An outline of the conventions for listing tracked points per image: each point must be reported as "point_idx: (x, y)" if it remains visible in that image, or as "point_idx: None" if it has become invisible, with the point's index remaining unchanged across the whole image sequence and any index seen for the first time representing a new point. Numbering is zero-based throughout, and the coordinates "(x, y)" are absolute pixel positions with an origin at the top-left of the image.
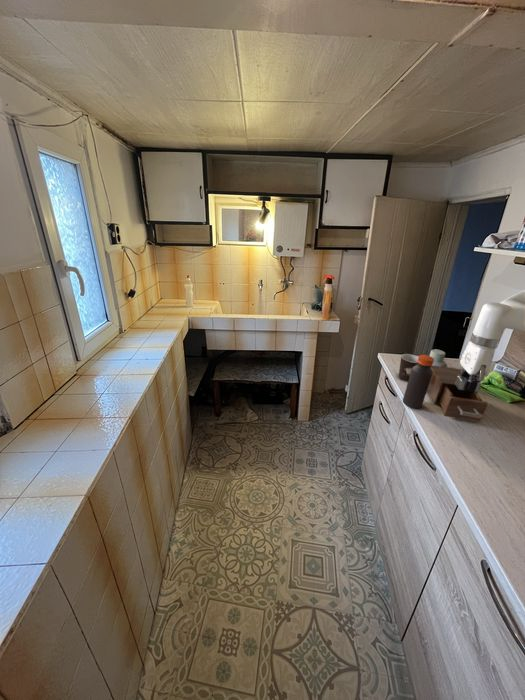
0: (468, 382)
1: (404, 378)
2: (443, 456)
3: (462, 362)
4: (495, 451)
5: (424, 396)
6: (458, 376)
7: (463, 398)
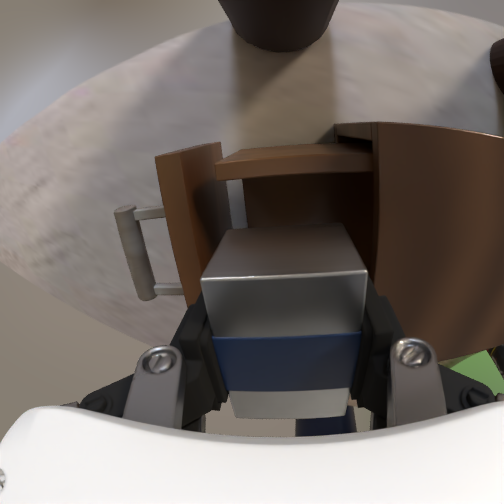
0: (187, 338)
1: (497, 47)
2: (17, 135)
3: (468, 487)
4: (96, 279)
5: (244, 22)
6: (338, 274)
7: (189, 246)
